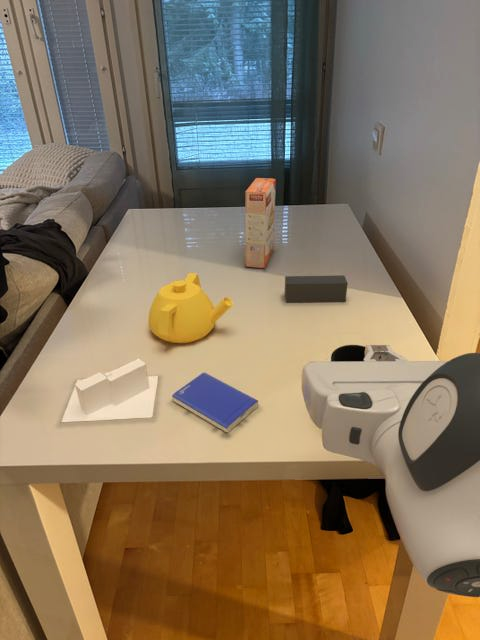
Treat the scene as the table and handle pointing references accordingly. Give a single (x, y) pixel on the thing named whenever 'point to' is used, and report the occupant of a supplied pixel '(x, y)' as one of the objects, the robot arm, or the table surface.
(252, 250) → the cracker box
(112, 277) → the table surface
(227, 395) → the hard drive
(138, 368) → the napkin holder
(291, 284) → the stop block
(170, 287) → the teapot
